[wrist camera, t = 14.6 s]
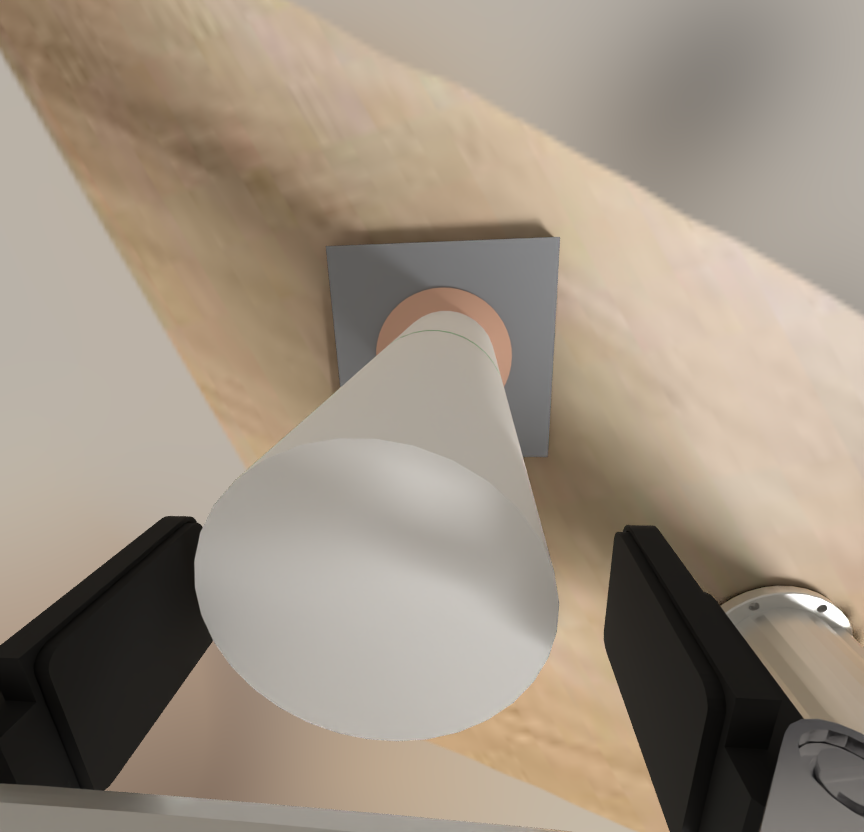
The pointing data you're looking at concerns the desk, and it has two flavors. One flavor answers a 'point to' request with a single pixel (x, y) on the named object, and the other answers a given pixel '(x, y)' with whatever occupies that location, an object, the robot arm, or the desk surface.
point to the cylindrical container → (388, 550)
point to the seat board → (456, 310)
